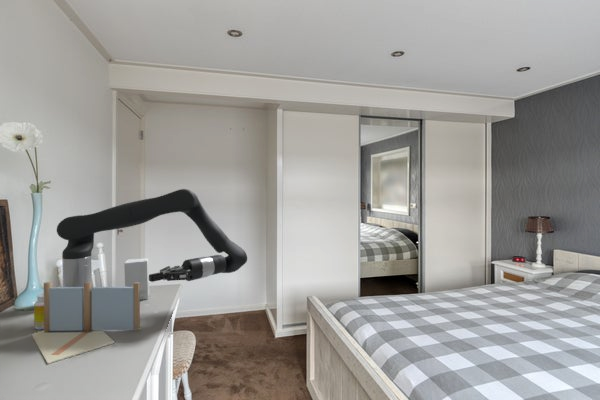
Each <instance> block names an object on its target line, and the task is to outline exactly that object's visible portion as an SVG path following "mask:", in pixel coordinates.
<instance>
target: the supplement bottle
mask: <svg viewBox="0 0 600 400" xmlns="http://www.w3.org/2000/svg"><path fill="white" fill-rule="evenodd" d="M36 296H37V297H36V298H37V299H36V300H37V301H35V302H34V303H33V316H34V317H33V328H34V329H35V330H44V292H43V293H40V294H38V295H36Z"/></svg>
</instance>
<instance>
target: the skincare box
mask: <svg viewBox="0 0 600 400" xmlns="http://www.w3.org/2000/svg"><path fill="white" fill-rule="evenodd" d="M149 263H150V262H149V257H145V258H143V257H142V258H131V259H126V261H125V262H124V264H123V265H124V266H123V268H124V287H133V283H135V282H140V301H141V300H148V299H149V297H150V281H149V275H150V268H149V265H150V264H149Z"/></svg>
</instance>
